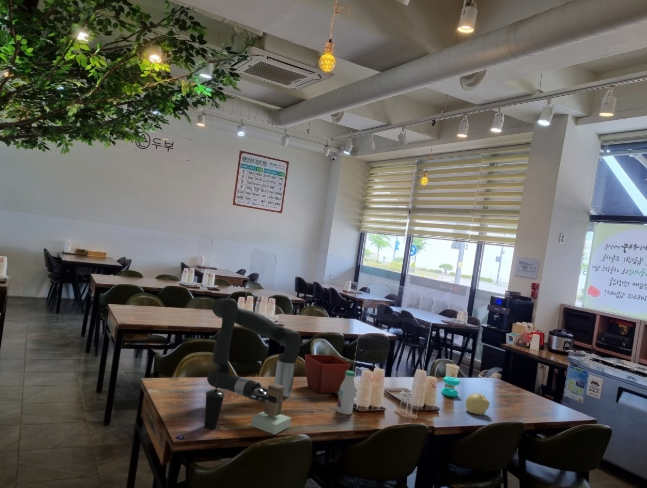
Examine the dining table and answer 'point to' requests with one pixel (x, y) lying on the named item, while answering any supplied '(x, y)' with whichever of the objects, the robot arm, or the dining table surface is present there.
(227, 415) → the dining table surface
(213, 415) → the drinking cup
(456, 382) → the donuts
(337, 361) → the plant pot
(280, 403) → the walnut block
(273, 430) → the base slab
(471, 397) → the pale yellow round lump
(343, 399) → the milk bottle
